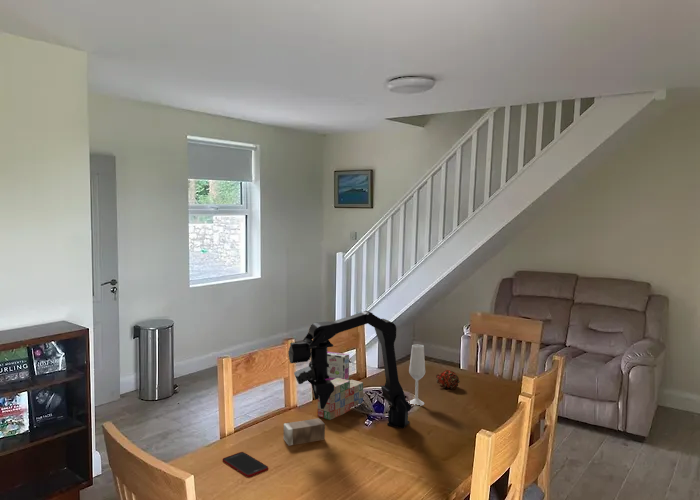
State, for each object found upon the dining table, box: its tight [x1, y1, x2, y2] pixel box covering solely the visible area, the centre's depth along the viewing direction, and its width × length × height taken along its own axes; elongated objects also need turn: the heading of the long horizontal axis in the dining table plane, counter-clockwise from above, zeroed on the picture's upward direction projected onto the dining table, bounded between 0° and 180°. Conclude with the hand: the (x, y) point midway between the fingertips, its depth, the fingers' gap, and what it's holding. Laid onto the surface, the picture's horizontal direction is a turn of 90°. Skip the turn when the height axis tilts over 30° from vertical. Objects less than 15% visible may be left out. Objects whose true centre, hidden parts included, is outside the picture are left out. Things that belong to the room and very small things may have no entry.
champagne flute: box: [408, 343, 426, 407], centre depth 219 cm, size 7×7×24 cm
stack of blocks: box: [317, 378, 364, 421], centre depth 210 cm, size 21×6×12 cm, turn 142°
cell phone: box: [222, 451, 269, 478], centre depth 164 cm, size 8×15×1 cm, turn 45°
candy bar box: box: [325, 351, 350, 381], centre depth 232 cm, size 11×5×16 cm, turn 62°
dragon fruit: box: [436, 369, 461, 390], centre depth 240 cm, size 8×8×12 cm
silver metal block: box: [283, 417, 326, 446], centre depth 183 cm, size 6×6×13 cm
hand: (319, 403), depth 185 cm, fingers open, 9 cm apart
